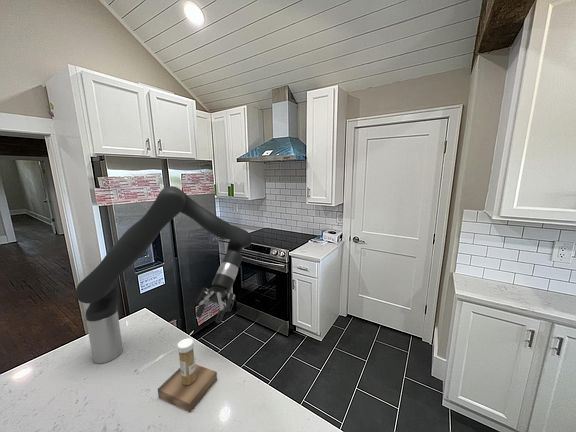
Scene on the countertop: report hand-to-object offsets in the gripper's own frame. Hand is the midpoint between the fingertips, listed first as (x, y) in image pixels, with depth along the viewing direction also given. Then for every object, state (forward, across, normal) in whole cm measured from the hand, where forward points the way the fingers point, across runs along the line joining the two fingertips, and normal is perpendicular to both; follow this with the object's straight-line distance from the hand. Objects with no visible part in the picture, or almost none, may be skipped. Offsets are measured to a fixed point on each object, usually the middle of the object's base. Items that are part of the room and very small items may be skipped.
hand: (207, 319), depth 82 cm
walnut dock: (+20, 0, +5) cm, 21 cm away
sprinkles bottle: (+18, 0, +4) cm, 18 cm away
